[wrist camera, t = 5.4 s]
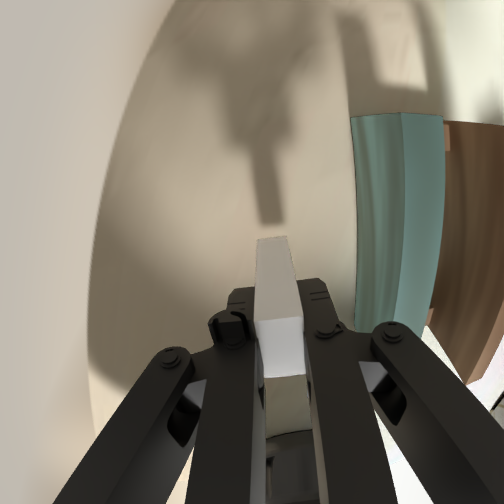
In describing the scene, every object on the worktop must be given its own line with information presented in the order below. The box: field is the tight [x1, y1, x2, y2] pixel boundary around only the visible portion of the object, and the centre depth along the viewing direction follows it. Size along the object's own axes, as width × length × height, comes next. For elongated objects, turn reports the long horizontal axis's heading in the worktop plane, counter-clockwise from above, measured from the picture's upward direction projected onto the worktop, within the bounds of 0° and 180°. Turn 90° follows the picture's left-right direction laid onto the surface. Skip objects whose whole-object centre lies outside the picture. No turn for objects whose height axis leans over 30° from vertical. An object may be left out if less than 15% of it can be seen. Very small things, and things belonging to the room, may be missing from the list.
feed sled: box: [351, 113, 504, 386], centre depth 12 cm, size 7×14×8 cm, turn 8°
